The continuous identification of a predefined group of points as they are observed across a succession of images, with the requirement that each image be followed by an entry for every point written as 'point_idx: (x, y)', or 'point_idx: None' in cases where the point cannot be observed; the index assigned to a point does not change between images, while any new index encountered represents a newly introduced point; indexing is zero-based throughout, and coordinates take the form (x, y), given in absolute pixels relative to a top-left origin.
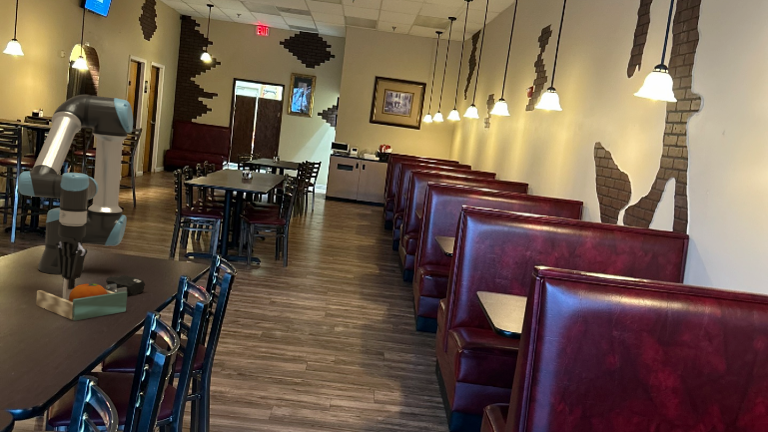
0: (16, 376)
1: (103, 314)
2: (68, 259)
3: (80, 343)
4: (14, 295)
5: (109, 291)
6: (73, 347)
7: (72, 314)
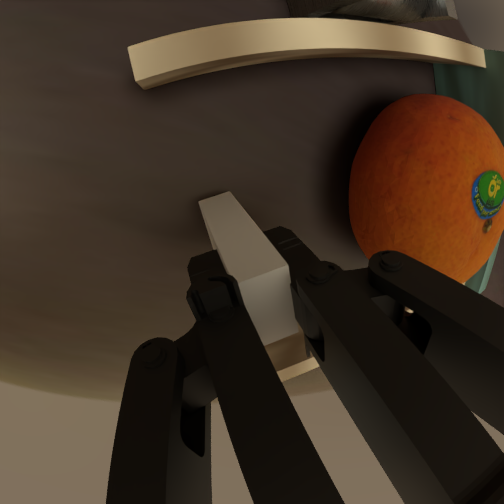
0: None
1: None
2: (408, 496)
3: (497, 269)
4: (65, 380)
5: (416, 39)
6: (497, 281)
7: None
